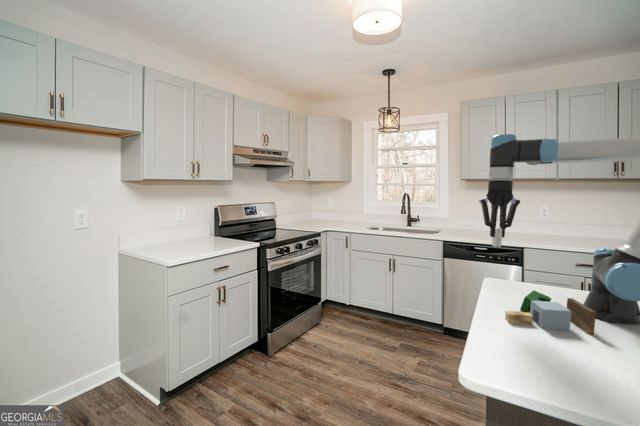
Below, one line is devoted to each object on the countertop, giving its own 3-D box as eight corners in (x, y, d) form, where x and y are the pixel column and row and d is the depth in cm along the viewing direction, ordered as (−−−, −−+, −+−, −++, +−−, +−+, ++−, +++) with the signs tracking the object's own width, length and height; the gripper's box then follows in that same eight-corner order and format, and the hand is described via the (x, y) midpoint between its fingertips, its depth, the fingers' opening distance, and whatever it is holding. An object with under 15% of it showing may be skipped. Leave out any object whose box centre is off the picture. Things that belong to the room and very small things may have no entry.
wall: (570, 318, 112) (572, 298, 111) (593, 334, 100) (595, 311, 100) (565, 318, 112) (567, 298, 112) (588, 334, 100) (590, 311, 100)
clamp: (536, 327, 115) (542, 308, 111) (517, 318, 119) (522, 299, 115) (549, 307, 122) (555, 289, 117) (531, 299, 126) (536, 281, 121)
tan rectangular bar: (528, 321, 110) (529, 312, 109) (532, 325, 107) (532, 316, 107) (505, 319, 111) (505, 310, 111) (508, 322, 108) (508, 314, 108)
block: (555, 319, 111) (557, 302, 110) (569, 330, 103) (571, 311, 102) (529, 317, 112) (530, 300, 112) (541, 327, 104) (542, 309, 104)
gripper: (517, 180, 120) (512, 245, 122) (476, 179, 122) (473, 243, 124) (526, 179, 113) (521, 249, 115) (483, 179, 115) (479, 247, 117)
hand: (496, 246), depth 119 cm, fingers closed
